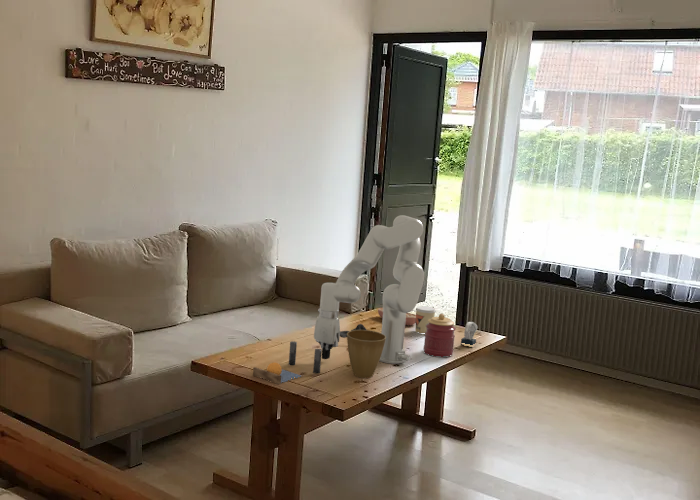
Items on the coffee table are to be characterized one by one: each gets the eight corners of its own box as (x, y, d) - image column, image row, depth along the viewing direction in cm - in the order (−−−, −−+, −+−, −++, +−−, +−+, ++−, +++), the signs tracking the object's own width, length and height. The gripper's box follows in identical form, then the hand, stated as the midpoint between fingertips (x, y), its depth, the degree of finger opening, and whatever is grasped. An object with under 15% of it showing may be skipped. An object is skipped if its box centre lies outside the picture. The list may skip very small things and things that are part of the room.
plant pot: (335, 373, 292) (338, 332, 290) (362, 367, 303) (366, 328, 300) (363, 384, 282) (366, 342, 280) (390, 377, 292) (394, 337, 290)
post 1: (296, 364, 299) (298, 342, 298) (292, 365, 297) (293, 343, 296) (291, 363, 301) (293, 340, 299) (287, 364, 299) (288, 342, 297)
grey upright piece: (477, 345, 350) (479, 321, 348) (470, 348, 343) (473, 324, 341) (465, 342, 352) (468, 319, 351) (459, 346, 345) (461, 322, 344)
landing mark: (302, 376, 285) (302, 375, 285) (280, 383, 276) (280, 382, 276) (278, 368, 292) (278, 368, 292) (256, 374, 283) (256, 374, 283)
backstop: (280, 383, 275) (281, 375, 275) (278, 384, 274) (279, 376, 274) (254, 374, 283) (255, 367, 282) (252, 375, 282) (253, 367, 281)
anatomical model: (421, 325, 378) (421, 316, 377) (409, 328, 371) (410, 318, 370) (384, 316, 393) (385, 306, 392) (372, 318, 385) (373, 309, 384)
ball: (278, 382, 280) (286, 370, 283) (272, 373, 277) (280, 361, 279) (267, 378, 284) (276, 366, 286) (261, 369, 280) (270, 357, 283)
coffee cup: (410, 330, 367) (413, 305, 366) (428, 330, 370) (430, 306, 369) (418, 335, 359) (420, 310, 357) (436, 335, 362) (438, 310, 360)
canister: (437, 359, 322) (441, 318, 320) (416, 350, 332) (420, 311, 330) (459, 355, 330) (463, 316, 327) (438, 347, 340) (442, 309, 337)
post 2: (321, 372, 292) (323, 349, 290) (317, 373, 290) (318, 351, 288) (316, 370, 293) (317, 348, 292) (311, 372, 291) (313, 349, 290)
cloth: (329, 336, 348) (330, 323, 347) (351, 329, 363) (352, 316, 362) (371, 346, 336) (372, 333, 335) (392, 338, 352) (393, 326, 351)
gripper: (308, 311, 304) (305, 355, 307) (337, 319, 295) (334, 364, 298) (320, 309, 310) (317, 352, 313) (349, 316, 301) (345, 361, 304)
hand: (325, 358), depth 305 cm, fingers closed
